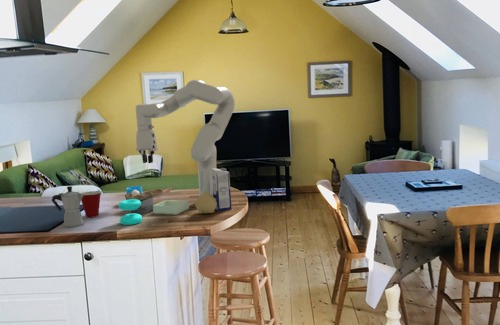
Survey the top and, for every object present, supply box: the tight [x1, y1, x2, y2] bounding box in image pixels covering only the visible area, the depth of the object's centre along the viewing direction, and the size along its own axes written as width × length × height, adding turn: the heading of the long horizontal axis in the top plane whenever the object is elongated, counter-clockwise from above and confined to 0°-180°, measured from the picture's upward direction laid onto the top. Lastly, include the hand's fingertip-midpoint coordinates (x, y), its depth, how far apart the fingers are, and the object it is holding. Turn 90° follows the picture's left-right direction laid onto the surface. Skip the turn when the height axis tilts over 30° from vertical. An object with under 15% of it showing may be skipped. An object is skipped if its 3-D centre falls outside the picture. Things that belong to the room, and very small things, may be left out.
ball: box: [131, 190, 139, 196], centre depth 252 cm, size 4×4×4 cm
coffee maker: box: [51, 185, 85, 229], centre depth 229 cm, size 15×9×18 cm, turn 92°
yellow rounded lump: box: [195, 192, 217, 214], centre depth 236 cm, size 10×12×11 cm
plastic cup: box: [79, 190, 103, 218], centre depth 244 cm, size 11×11×12 cm
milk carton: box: [211, 167, 233, 212], centre depth 243 cm, size 7×7×20 cm
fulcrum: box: [131, 197, 154, 214], centre depth 251 cm, size 8×12×5 cm, turn 155°
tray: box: [152, 199, 190, 216], centre depth 245 cm, size 13×11×4 cm
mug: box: [125, 185, 143, 201], centre depth 270 cm, size 12×8×8 cm
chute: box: [124, 187, 174, 200], centre depth 254 cm, size 16×18×4 cm
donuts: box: [117, 199, 143, 226], centre depth 228 cm, size 10×10×10 cm
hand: (147, 162), depth 266 cm, fingers open, 2 cm apart
